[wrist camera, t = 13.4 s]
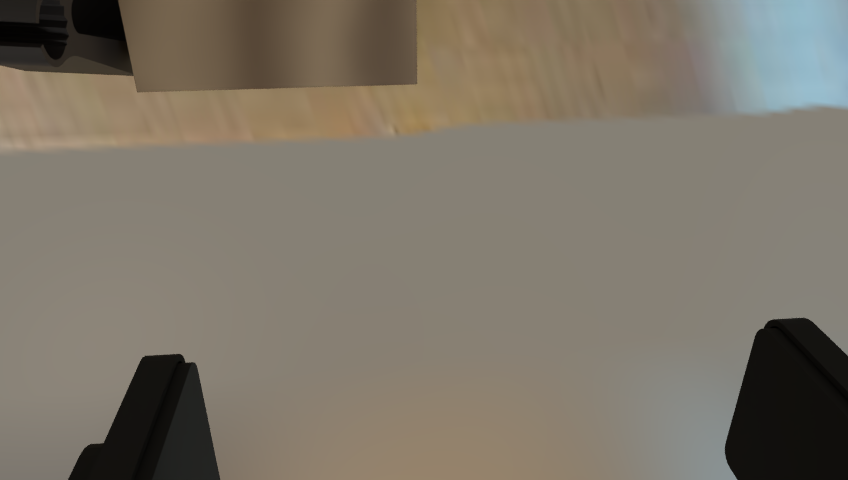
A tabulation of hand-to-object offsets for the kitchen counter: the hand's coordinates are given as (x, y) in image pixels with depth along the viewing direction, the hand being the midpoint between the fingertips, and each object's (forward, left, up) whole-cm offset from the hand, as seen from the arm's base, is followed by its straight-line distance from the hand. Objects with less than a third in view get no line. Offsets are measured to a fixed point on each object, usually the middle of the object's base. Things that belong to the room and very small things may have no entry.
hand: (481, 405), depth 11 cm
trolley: (+6, -3, -30) cm, 31 cm away
